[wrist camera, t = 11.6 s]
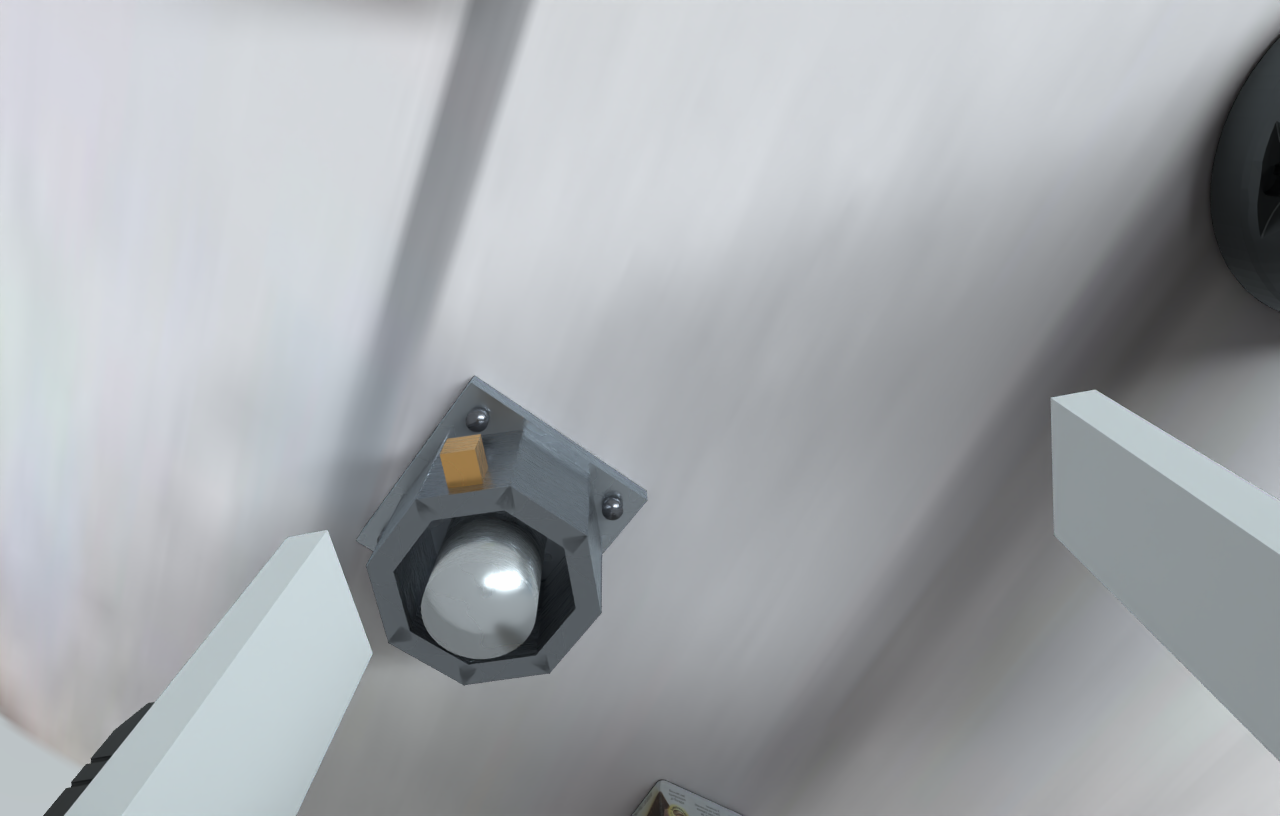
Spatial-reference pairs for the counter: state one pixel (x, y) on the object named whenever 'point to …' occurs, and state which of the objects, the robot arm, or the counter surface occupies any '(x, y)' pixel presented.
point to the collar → (481, 483)
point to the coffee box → (678, 803)
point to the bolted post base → (496, 535)
